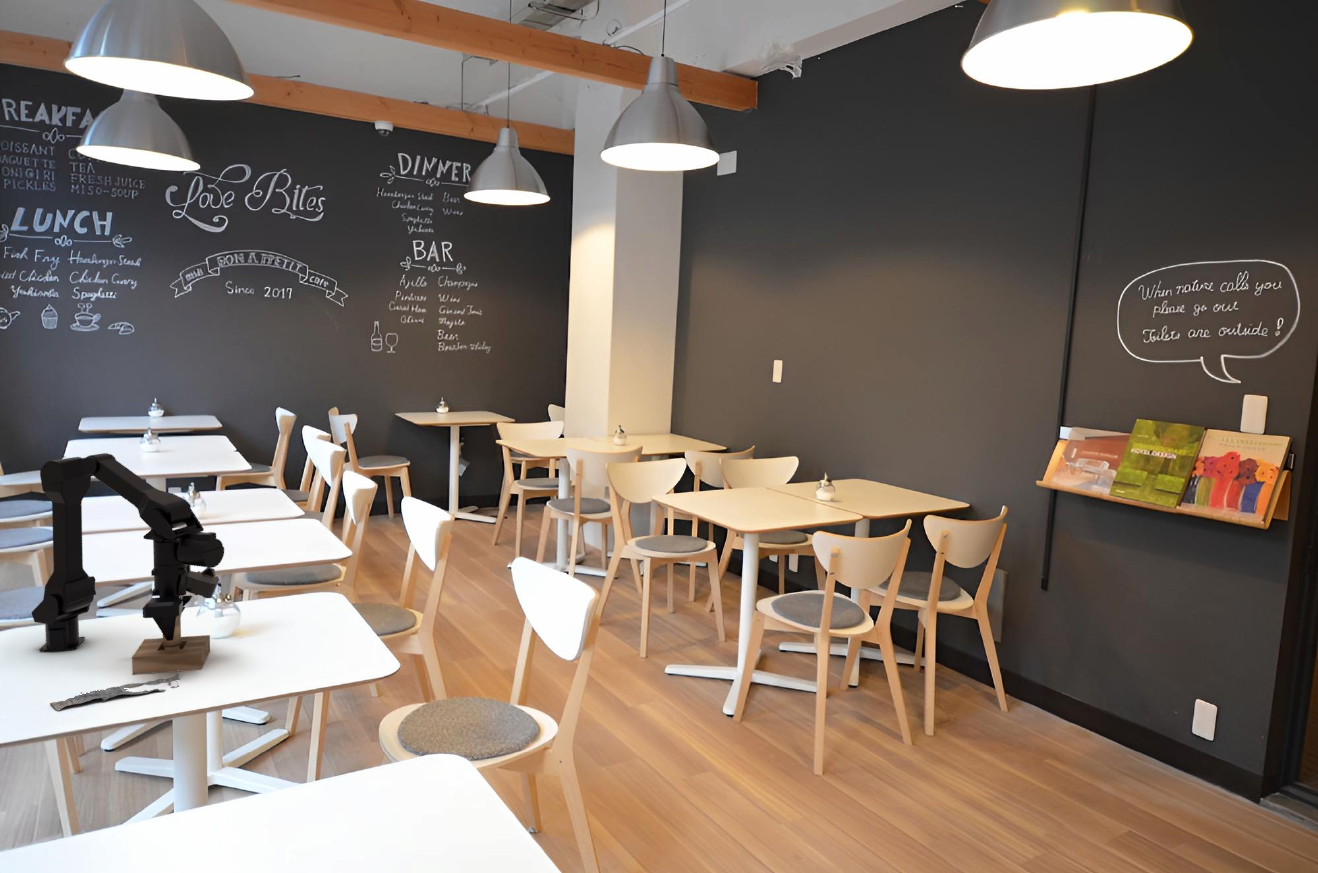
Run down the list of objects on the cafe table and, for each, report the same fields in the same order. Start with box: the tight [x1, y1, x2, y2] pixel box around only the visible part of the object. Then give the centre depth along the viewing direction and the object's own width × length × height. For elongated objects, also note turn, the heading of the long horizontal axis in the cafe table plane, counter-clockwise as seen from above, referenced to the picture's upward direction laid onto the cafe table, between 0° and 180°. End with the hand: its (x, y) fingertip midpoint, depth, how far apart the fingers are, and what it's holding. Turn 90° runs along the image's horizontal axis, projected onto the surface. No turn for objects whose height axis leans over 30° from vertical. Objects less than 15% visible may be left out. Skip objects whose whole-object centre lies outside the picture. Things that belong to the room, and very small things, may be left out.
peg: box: [162, 614, 182, 650], centre depth 172 cm, size 3×3×12 cm
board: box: [131, 634, 211, 675], centre depth 173 cm, size 10×12×4 cm
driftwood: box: [50, 672, 181, 711], centre depth 158 cm, size 21×7×2 cm, turn 126°
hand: (171, 637), depth 173 cm, fingers closed on peg, 3 cm apart
